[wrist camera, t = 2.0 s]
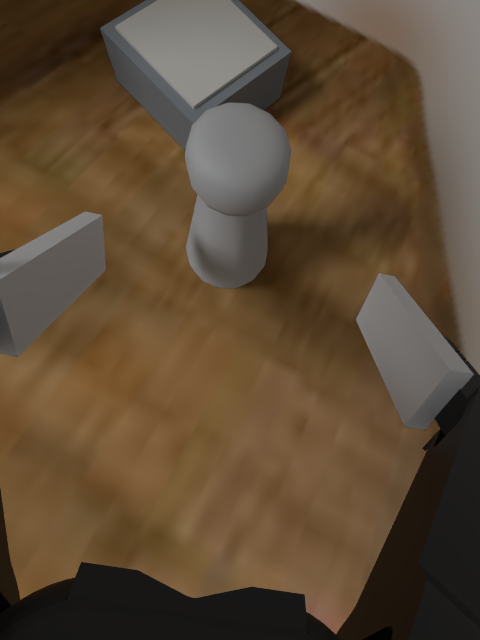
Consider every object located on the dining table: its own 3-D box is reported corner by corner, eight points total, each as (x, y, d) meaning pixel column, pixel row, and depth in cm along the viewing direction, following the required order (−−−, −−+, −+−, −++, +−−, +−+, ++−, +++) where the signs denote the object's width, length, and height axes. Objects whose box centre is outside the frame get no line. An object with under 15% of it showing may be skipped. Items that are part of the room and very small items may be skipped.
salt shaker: (220, 213, 25) (229, 44, 12) (275, 255, 25) (345, 130, 12) (173, 266, 24) (129, 142, 11) (231, 311, 24) (255, 238, 11)
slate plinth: (116, 80, 26) (98, 24, 22) (204, 22, 28) (203, -39, 24) (195, 161, 25) (192, 120, 21) (280, 97, 27) (292, 48, 23)
